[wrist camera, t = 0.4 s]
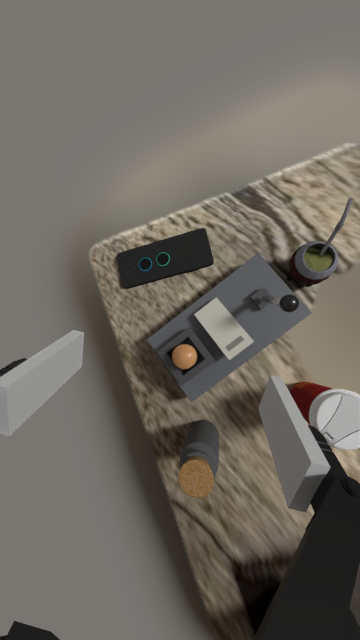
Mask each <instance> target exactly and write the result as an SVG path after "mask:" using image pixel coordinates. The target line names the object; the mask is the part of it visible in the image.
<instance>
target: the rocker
mask: <svg viewBox="0 0 360 640" xmlns="http://www.w3.org/2000/svg"><path fill="white" fill-rule="evenodd" d="M194 315H195V316H196V318H197V319H198V320H199V322H200V323H201V324H202V326H203V327H204V328H205V329H206V331H207V332H208V333H209V335H210V336H211V337H212V339H213V340H214V341H215V342H216V344H217V345H218V346H219V348H220V349H221V350H222V352H223V353H224V354H225V355H226V357H227V358H228V359H229V361H230V360H231V359H233V358H234V357H235V356H237V355H238V354H239V353H241V352H242V351H243V350H245V349H246V348H247V347H249V346H250V345H251V344H253V343H254V341H253V340H252V338H251V337H250V336H249V335H248V334H247V333H246V331H245V330H244V329H243V328H242V327H241V325H240V324H239V323H238V322H237V321H236V320H235V318H234V317H233V316H232V315H231V314H230V313H229V311H228V310H227V309H226V308H225V307H224V305H223V304H222V303H221V302H220V301H219V300H218V298H217V297H216V298H215V299H213V300H212V301H211V302H209V303H208V304H207V305H206V306H204V307H203V308H202V309H200V310H199V311H198V312H196V313H195V314H194Z"/></svg>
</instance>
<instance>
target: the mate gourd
mask: <svg viewBox="0 0 360 640" xmlns="http://www.w3.org/2000/svg"><path fill="white" fill-rule="evenodd" d="M352 202H353V199H352V198H350V199H349V200H348V203H347V205H346V208H345V211H344V213H343V216H342V218H341V220H340V222H338V224H337V225H336V227H335V230H334V232H333V233H332V235H331V236H330V238H329V239H328V241H327V243H325V242H321V241H312V242H309V243H307V244H305V245H303V246H301V247H299V248H298V249H297V250H296V252H295V253H294V254H293V255H292V258H291V261H290V273H291V274H290V276H288V277H287V280H288V281H289V280H292V279H296V280H297V281H299V282H301V283H305V284H307V285H308V286H312V285H313V284H318V283H320V282H322V281H323V280H326V279H327V278H328V277H329V276H330V275H331V274H332V273H333V272H334V270H335V269H336V266H337V263H338V257H337V253H336V251H335V250H334V248H333V247H332V246H330V245H329V244H330V243H331V241H332V240H333V238H334V237H335V235H336V234H337V233H338V231H340V230H341V228H342V226H343V225H344V224H343V223H344V221H345V219H346V217H347V214H348V212H349V209H350V207H351V204H352Z"/></svg>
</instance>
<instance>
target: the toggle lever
mask: <svg viewBox="0 0 360 640" xmlns="http://www.w3.org/2000/svg"><path fill="white" fill-rule="evenodd" d="M262 301H263V302H266V303H270V304H274V305H278V306H280V308H281V309H282V310H283V311H284V312H293V311H295V310H296V309H297V308H298V306H299V300H298V298H297V297H296V296H294V295H290V294H289V295H285V296H283V297H282V298H281V297H275V296H269V295H264V296H263V297H262Z"/></svg>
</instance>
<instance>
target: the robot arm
mask: <svg viewBox="0 0 360 640" xmlns="http://www.w3.org/2000/svg"><path fill="white" fill-rule="evenodd" d="M83 339H84V332H79V331H75V330H73V331H71V332H70V333H68V334H67V335H65V336H64V337H62V338H60V339H59V340H57V341H56V342H54V343H53V344H51V345H50V346H48V347H46V348H45V349H43V350H42V351H40V352H39V353H37V354H35V355H34V356H33V357H31V358H29V359H25V358H23V359H20V360H17V361H14V362H12V363H11V364H9V365H8V366H6V367H5V368H2V369H1V370H0V434H1V435H5V436H9V437H10V436H11V435H12V434H13V433H14V432H15V431H16V430H17V429H18V428H19V427H20V426H21V425H22V424H23V423H24V422H25V421H26V420H27V419H28V418H29V417H30V416H31V415H32V414H33V413H34V412H35V411H36V410H37V409H38V408H40V407H41V406H42V405H43V404H44V403H45V402H46V401H47V400H48V399H49V398H50V397H51V396H52V395H53V394H54V393H55V392H56V391H57V390H58V389H59V388H60V387H61V386H62V385H63V384H64V383H65V382H66V381H67V380H68V379H69V378H70V377H71V376H72V375H74V373H75V372H77V370H79V369H80V368H81V367H82V355H83ZM258 409H259V413H260V416H261V419H262V423H263V426H264V429H265V433H266V436H267V439H268V443H269V446H270V449H271V452H272V456H273V459H274V462H275V466H276V469H277V472H278V476H279V479H280V482H281V485H282V489H283V492H284V495H285V499H286V502H287V505H288V508H291V509H294V510H298V511H302V512H306V511H307V509H308V507H309V505H310V504H312V507H313V510H314V512H315V514H314V515H313V517H312V519H311V521H310V522H309V524H308V526H307V528H306V531H305V534H304V536H303V538H302V540H301V542H300V544H299V546H298V548H297V550H296V552H295V554H294V556H293V558H292V561H291V563H290V565H289V567H288V569H287V571H286V573H285V575H284V577H283V579H282V581H281V583H280V585H279V587H278V590H277V591H276V592H275V593H274V594H273V595H272V597H271V598H270V600H269V602H268V604H267V607H266V611H265V617H264V619H263V621H262V623H261V625H260V627H259V629H258V631H257V633H256V635H255V637H254V639H253V640H360V627H359V625H358V623H357V621H356V619H355V617H354V615H353V613H352V611H351V610H350V608H349V606H350V602H351V597H352V593H353V589H354V584H355V580H356V576H357V572H358V567H359V563H360V484H359V483H358V482H357V481H355V480H354V479H352V478H350V477H348V476H347V474H346V473H345V471H344V469H343V468H342V466H341V464H340V463H339V461H338V459H337V458H336V456H335V454H334V453H333V452H332V449H331V448H330V446H329V445H328V443H327V441H326V439H325V438H324V436H323V435H322V434H321V433H320V432H319V431H318V430H317V429H316V428H315V427H314V426H309V425H307V423H306V421H305V420H304V418H303V416H302V414H301V412H300V410H299V409H298V407H297V405H296V403H295V401H294V399H293V398H292V396H291V394H290V392H289V390H288V388H287V387H286V385H285V383H284V381H283V379H282V378H280V377H276V376H271V375H270V378H269V380H268V383H267V386H266V388H265V391H264V394H263V396H262V399H261V402H260V404H259V407H258ZM0 640H59V639H58V638H57V637H56V636H55V635H54V634H53V633H52V632H50V631H47V630H43V629H40V628H36V627H33V626H30V625H26V624H23V623H19V622H16V621H14V623H13V625H12V627H11V629H10V631H9V633H8V635H6V636H1V637H0Z"/></svg>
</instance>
